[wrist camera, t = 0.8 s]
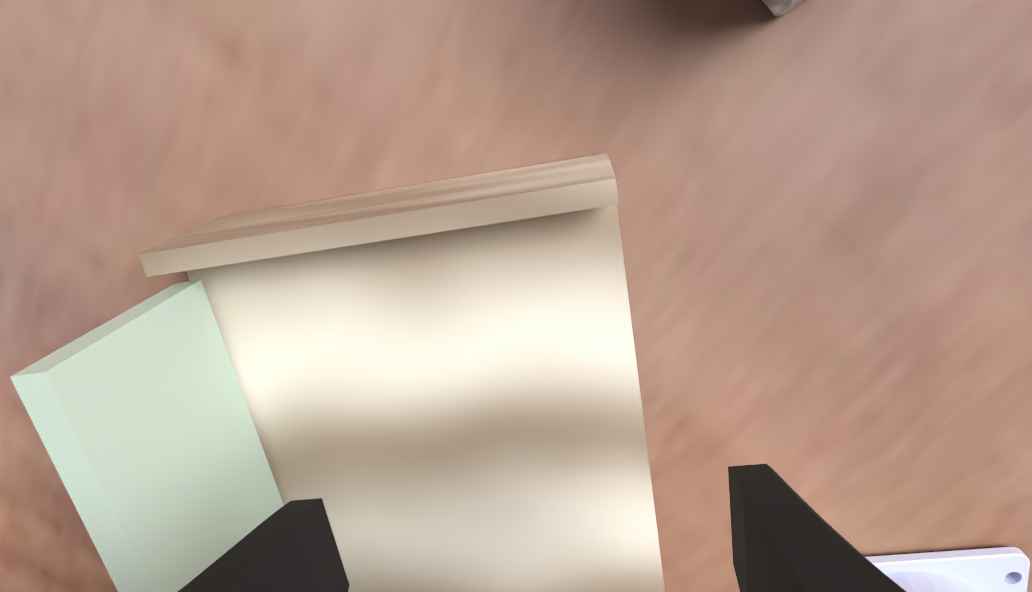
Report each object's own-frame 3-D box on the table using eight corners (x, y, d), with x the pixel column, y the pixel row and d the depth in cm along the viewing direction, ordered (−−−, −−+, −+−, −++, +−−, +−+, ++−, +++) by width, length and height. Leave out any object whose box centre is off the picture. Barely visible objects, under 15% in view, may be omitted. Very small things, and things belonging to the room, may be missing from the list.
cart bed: (662, 587, 23) (678, 688, 20) (355, 607, 25) (316, 704, 21) (607, 153, 18) (615, 178, 14) (221, 216, 20) (138, 254, 16)
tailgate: (334, 643, 22) (261, 821, 17) (313, 644, 22) (234, 821, 17) (200, 279, 17) (45, 372, 12) (175, 283, 18) (10, 376, 12)
